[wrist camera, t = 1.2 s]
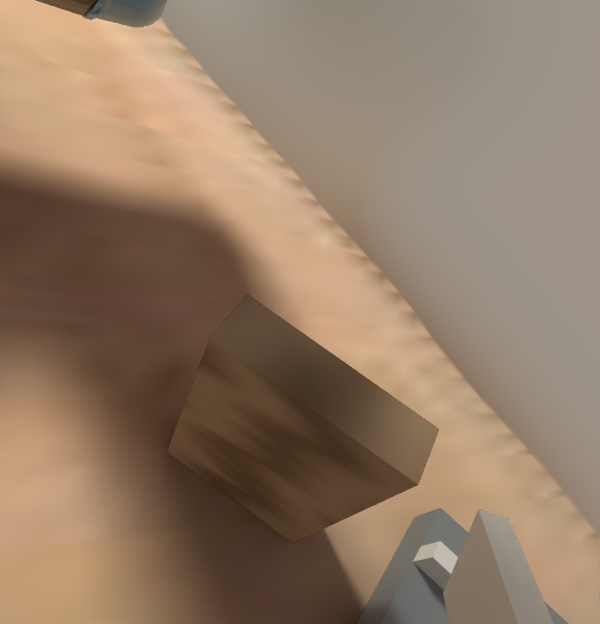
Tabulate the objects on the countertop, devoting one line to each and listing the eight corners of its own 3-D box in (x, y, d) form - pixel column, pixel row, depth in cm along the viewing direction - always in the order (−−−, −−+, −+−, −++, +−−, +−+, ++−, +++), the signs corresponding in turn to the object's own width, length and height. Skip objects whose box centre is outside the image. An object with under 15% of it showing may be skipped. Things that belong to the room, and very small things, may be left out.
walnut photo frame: (166, 452, 28) (210, 336, 17) (193, 417, 30) (249, 292, 19) (292, 543, 28) (418, 484, 17) (313, 503, 30) (440, 426, 19)
